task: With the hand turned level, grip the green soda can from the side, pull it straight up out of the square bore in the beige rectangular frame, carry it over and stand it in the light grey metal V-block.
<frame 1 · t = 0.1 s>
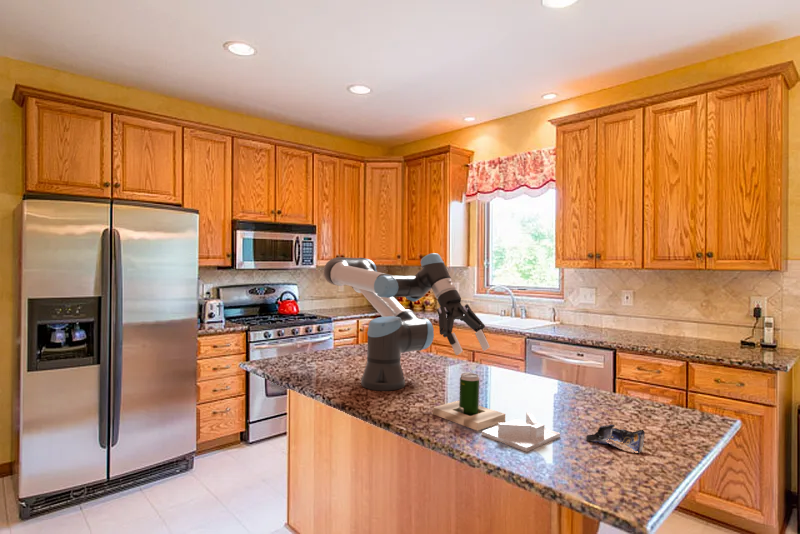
hand: (473, 351, 146), 15 cm above the countertop, tool tilted 35°, fingers open, 13 cm apart
v block: (517, 434, 116), on the countertop
green soda can: (468, 418, 128), resting in beige rectangular frame
snack package: (613, 446, 112), on the countertop
beige rectangular frame: (468, 417, 128), on the countertop
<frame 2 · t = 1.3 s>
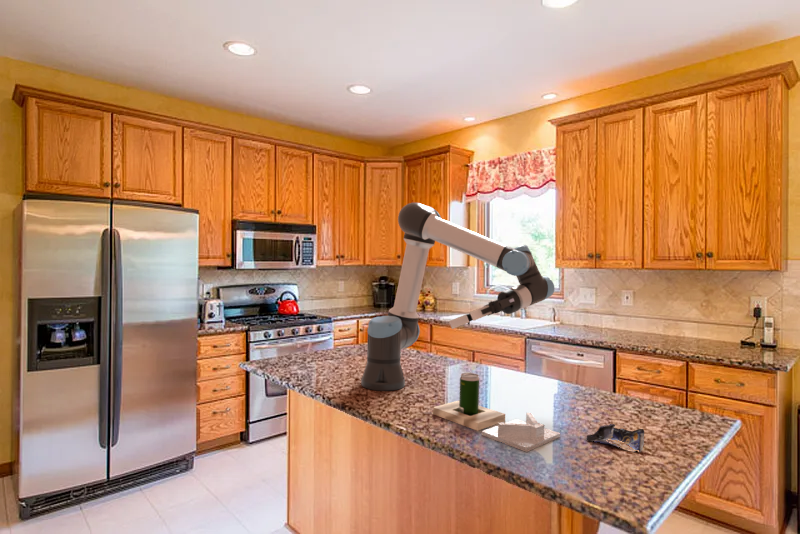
hand: (460, 320, 139), 26 cm above the countertop, tool tilted 75°, fingers open, 13 cm apart
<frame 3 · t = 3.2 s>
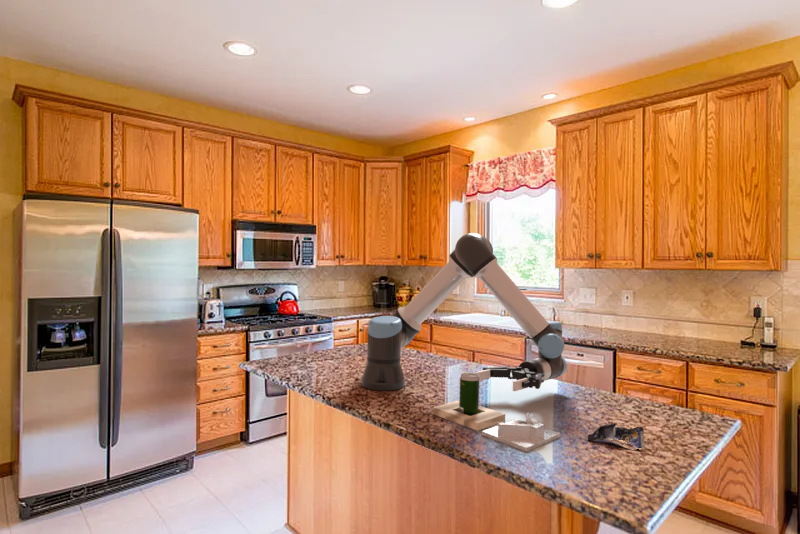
hand: (494, 381, 135), 9 cm above the countertop, tool horizontal, fingers open, 13 cm apart
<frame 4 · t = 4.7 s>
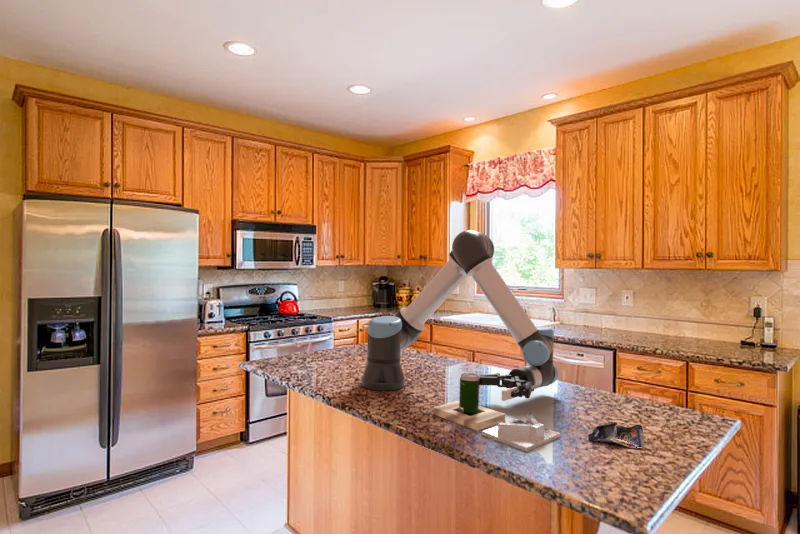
hand: (482, 390, 131), 7 cm above the countertop, tool horizontal, fingers open, 13 cm apart
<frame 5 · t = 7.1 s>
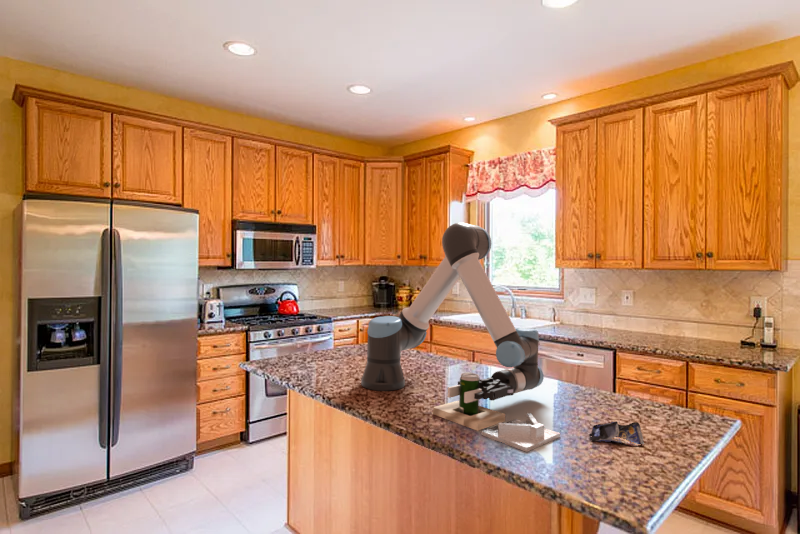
hand: (456, 395, 124), 7 cm above the countertop, tool horizontal, fingers closed on green soda can, 5 cm apart
green soda can: (468, 418, 128), resting in beige rectangular frame, touching gripper
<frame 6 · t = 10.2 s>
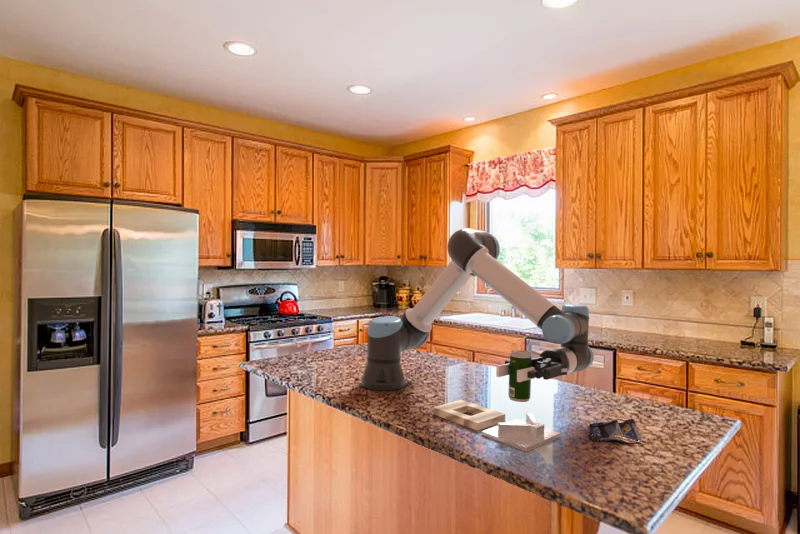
hand: (507, 373, 112), 16 cm above the countertop, tool horizontal, fingers closed on green soda can, 5 cm apart
green soda can: (519, 400, 116), point 9 cm above the countertop, touching gripper
snack package: (611, 440, 115), on the countertop
when the fingers open (10 cm above the countertop, at t = 11.5 s): green soda can drops 1 cm, resting on v block.
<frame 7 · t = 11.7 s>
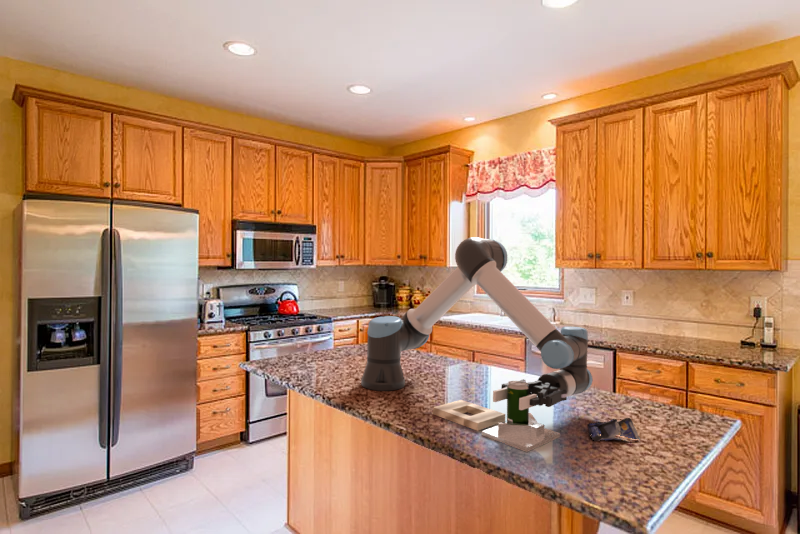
hand: (507, 400, 112), 10 cm above the countertop, tool horizontal, fingers open, 7 cm apart
green soda can: (517, 431, 116), point 1 cm above the countertop, touching v block
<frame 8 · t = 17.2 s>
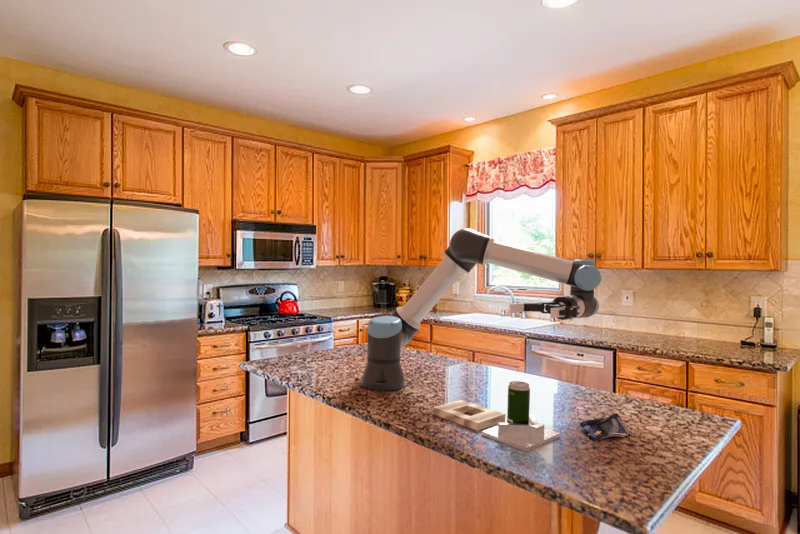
hand: (530, 310, 133), 30 cm above the countertop, tool horizontal, fingers open, 13 cm apart
snack package: (605, 437, 118), on the countertop
everything else where it was.
at the end: green soda can 0.0 cm off-centre on the v block, point 0.8 cm above the v block's base; green soda can tilted 0°; the gripper is holding nothing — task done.
